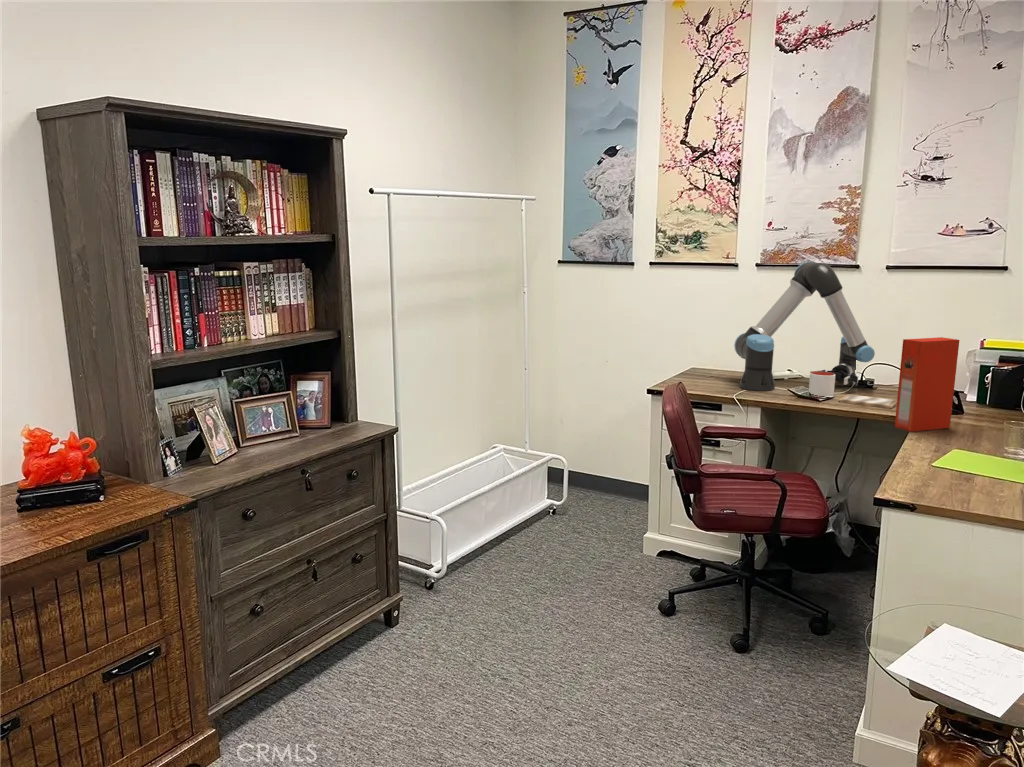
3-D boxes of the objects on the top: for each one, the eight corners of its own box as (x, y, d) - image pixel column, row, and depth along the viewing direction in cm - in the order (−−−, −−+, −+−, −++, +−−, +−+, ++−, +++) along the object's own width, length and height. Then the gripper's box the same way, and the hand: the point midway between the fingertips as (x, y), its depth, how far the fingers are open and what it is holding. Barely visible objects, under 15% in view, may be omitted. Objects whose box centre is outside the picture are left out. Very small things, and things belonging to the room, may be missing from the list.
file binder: (893, 426, 273) (903, 338, 267) (930, 423, 279) (940, 336, 272) (912, 432, 266) (922, 342, 259) (949, 428, 271) (960, 339, 265)
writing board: (838, 402, 313) (838, 399, 313) (847, 396, 324) (847, 393, 324) (891, 408, 301) (891, 406, 301) (898, 402, 312) (898, 400, 312)
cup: (829, 394, 328) (831, 371, 326) (836, 399, 318) (838, 375, 316) (805, 393, 329) (807, 371, 327) (812, 398, 319) (814, 375, 317)
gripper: (870, 384, 339) (858, 391, 323) (812, 377, 354) (798, 384, 338) (871, 367, 338) (859, 374, 321) (814, 361, 353) (799, 368, 336)
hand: (828, 379), depth 330 cm, fingers open, 13 cm apart
